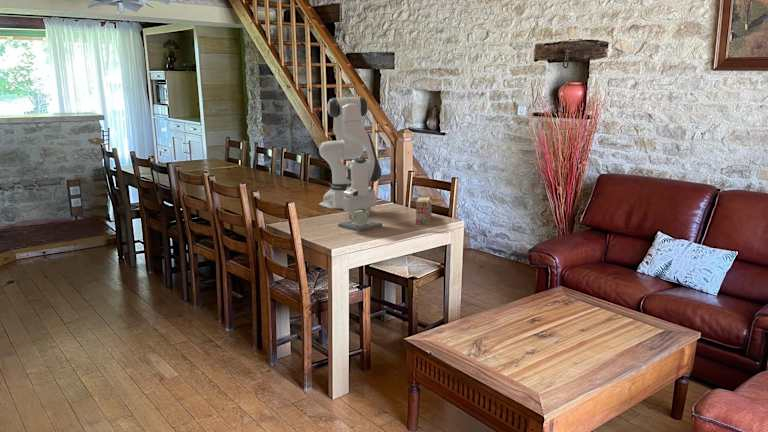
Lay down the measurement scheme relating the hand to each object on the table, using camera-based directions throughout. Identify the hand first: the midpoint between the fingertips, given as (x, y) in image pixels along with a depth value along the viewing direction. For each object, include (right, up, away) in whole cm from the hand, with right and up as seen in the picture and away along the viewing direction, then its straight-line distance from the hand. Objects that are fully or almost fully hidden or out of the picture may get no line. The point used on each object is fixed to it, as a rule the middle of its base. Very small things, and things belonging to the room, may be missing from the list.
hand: (360, 217), depth 313 cm
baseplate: (0, -5, +1) cm, 5 cm away
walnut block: (-3, -1, +18) cm, 18 cm away
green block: (0, -3, +1) cm, 3 cm away
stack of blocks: (+33, -2, +15) cm, 37 cm away
